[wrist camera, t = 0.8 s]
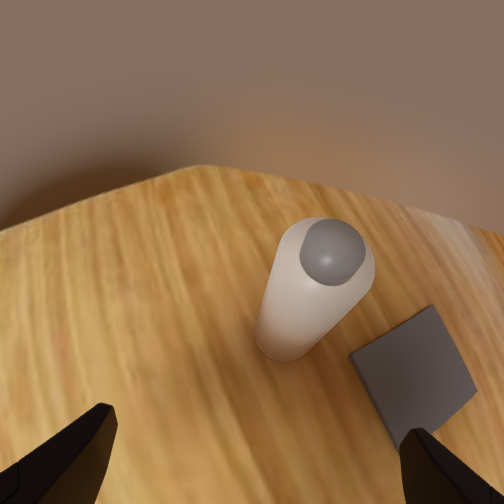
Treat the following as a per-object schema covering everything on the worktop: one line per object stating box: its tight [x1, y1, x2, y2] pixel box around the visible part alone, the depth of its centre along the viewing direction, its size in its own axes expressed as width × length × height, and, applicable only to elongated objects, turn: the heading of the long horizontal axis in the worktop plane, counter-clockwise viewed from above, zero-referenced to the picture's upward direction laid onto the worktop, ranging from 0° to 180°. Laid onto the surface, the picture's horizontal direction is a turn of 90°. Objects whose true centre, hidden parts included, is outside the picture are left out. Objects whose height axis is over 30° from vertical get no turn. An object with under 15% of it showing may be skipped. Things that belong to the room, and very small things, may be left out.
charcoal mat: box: [349, 305, 477, 456], centre depth 23 cm, size 10×10×1 cm
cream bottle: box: [254, 217, 375, 362], centre depth 19 cm, size 5×5×13 cm
